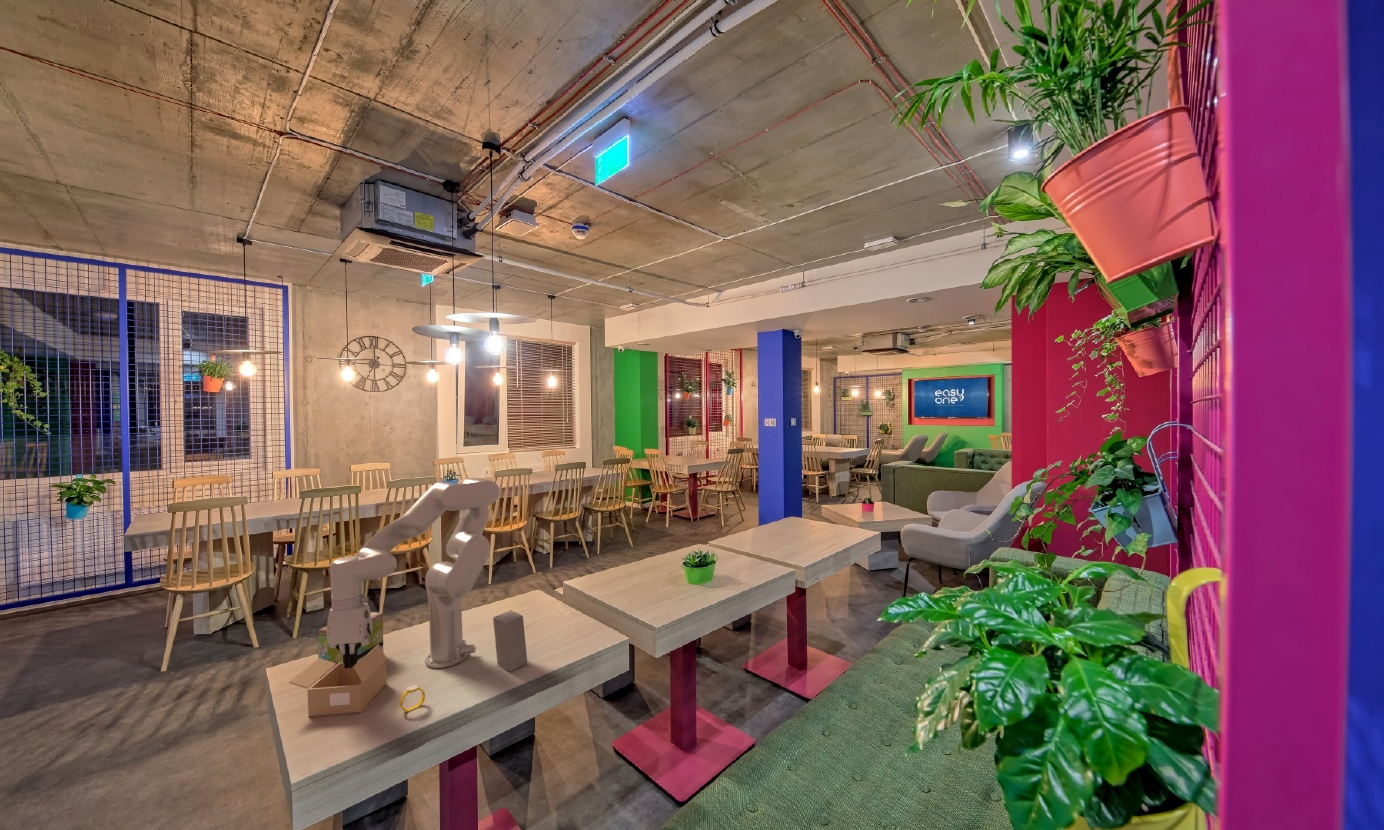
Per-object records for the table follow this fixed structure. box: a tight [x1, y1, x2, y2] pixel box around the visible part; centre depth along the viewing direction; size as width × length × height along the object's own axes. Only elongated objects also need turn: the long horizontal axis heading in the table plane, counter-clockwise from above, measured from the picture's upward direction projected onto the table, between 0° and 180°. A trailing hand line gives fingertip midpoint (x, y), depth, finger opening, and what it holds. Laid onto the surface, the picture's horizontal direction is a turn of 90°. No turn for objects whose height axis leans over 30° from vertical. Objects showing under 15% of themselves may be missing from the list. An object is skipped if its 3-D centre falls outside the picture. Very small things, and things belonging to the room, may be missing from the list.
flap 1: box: [288, 658, 336, 690], centre depth 138 cm, size 5×12×1 cm, turn 6°
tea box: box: [317, 611, 384, 678], centre depth 158 cm, size 15×10×15 cm, turn 168°
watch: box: [399, 684, 426, 713], centre depth 135 cm, size 6×3×6 cm, turn 136°
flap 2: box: [354, 644, 388, 683], centre depth 140 cm, size 5×12×1 cm
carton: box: [307, 659, 387, 718], centre depth 139 cm, size 13×14×8 cm
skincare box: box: [492, 610, 528, 672], centre depth 157 cm, size 8×7×16 cm
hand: (350, 665), depth 140 cm, fingers closed
